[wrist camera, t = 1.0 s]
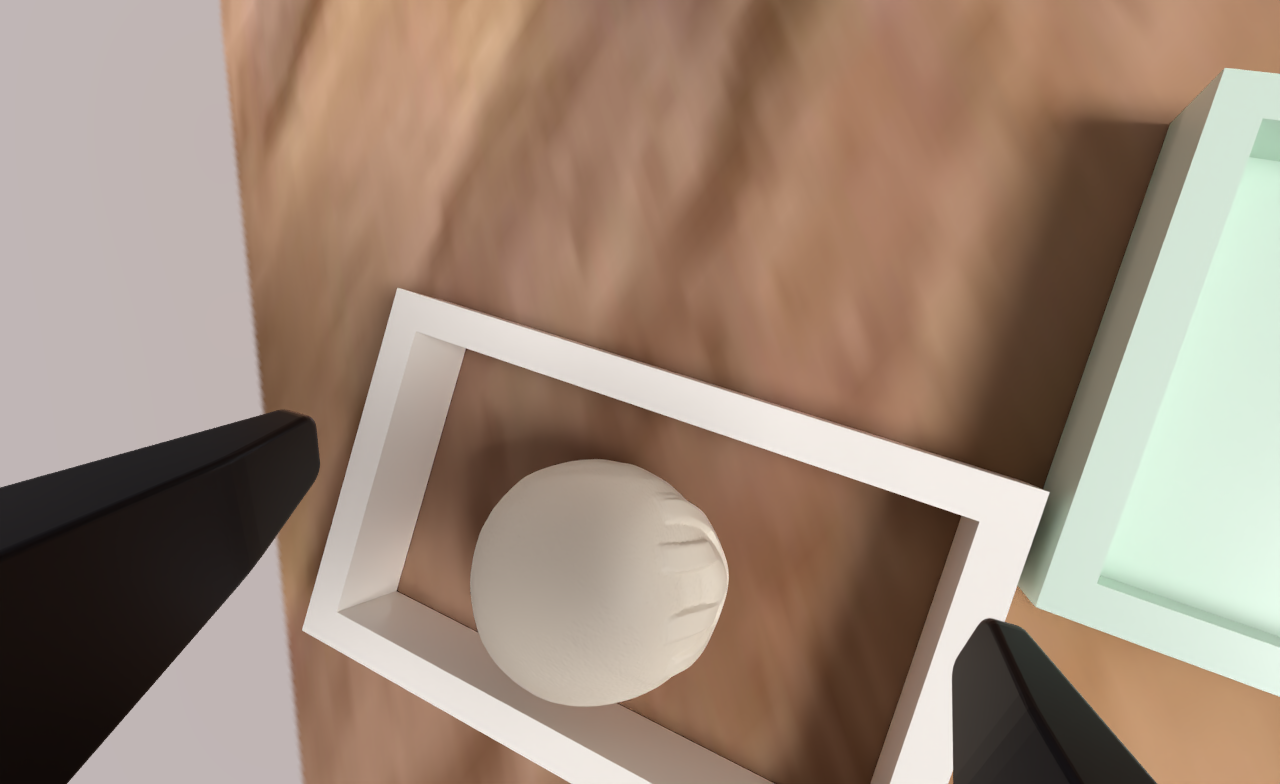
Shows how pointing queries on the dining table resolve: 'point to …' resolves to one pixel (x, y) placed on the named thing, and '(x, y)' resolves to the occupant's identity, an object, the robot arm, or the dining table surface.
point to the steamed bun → (596, 582)
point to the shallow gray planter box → (441, 331)
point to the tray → (1183, 410)
